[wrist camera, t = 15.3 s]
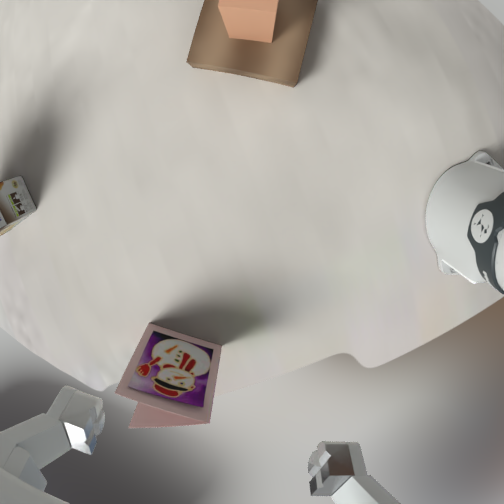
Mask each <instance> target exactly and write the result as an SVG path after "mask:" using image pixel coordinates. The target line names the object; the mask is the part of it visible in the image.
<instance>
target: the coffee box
mask: <svg viewBox="0 0 504 504" xmlns="http://www.w3.org/2000/svg"><path fill="white" fill-rule="evenodd" d="M35 211H36V207H35V205H34V203H33V201H32V198H31V196H30V194H29V192H28V189H27V187H26V185H25V183H24V180H23V178H22V176H18V177H14V178H11V179H8V180H5V181H2V182H0V236H1V235H3V234H5V233H6V232H8V231H10V230H11V229H12V228H14V227H15V226H16V225H17V224H19V223H20V222H21V221H23V220H24V219H25V218H27V217H28V216H29V215H31V214H32V213H33V212H35Z"/></svg>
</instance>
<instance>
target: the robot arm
mask: <svg viewBox="0 0 504 504" xmlns="http://www.w3.org/2000/svg"><path fill="white" fill-rule="evenodd" d="M487 162H488V164H487ZM426 230H427V234H428V237H429V240H430V242H431V244H432V246H433V248H434V249H435V251H436V253H437V258H438V266H439V270H440V271H441V272H442V273H444V274H447V275H462V276H463V277H465V278H466V279H467V280H469V281H470V282H471V283H474V284H476V283H477V282H478V283H485V282H488V284H489V285H491V287H493V288H494V289H495V290H497V291H499V292H501V293H502V294H504V169H503V168H502V167H501V166H500V165H499V164H498V163H497V162H496V161H495V160H494V159H493V158H492V157H490V156H489V155H488V154H487V153H486V152H483V151H478V152H477V153H475V154H474V155H473V156H472V157H471V158H470V159H469V160H468V161H467V162H464V163H461V164H458V165H455V166H453V167H452V168H450V169H449V170H447V171H446V172H445V173H444V174H443V175H442V176H441V177H440V178H439V180H438V181H437V182H436V184H435V186H434V187H433V190H432V192H431V194H430V197H429V200H428V204H427V209H426ZM102 406H103V401H102V399H100V398H98V397H95V396H92V395H89V394H87V393H84V392H82V391H79V390H77V389H74V388H72V387H69V386H67V385H66V386H64V387H63V388H62V390H61V391H60V393H59V394H58V396H57V397H56V399H55V401H54V402H53V404H52V406H51V407H50V409H49V411H48V412H47V414H44V413H42V414H40V415H38V416H36V417H33V418H31V419H29V420H27V421H24V422H22V423H20V424H18V425H15V426H14V427H11V428H9V429H6V430H4V431H1V432H0V504H69V503H67V502H64V501H62V500H60V499H58V498H55V497H54V496H51V495H49V494H47V493H45V492H43V491H44V489H45V486H46V484H47V482H46V479H45V478H44V476H43V475H42V473H41V472H40V470H39V469H41V468H43V467H44V466H46V465H47V464H49V463H50V462H52V461H53V460H55V459H57V458H58V457H59V456H61V455H63V454H64V453H66V452H67V451H68V450H70V449H71V448H74V449H77V450H79V451H82V452H85V453H87V454H90V455H92V452H93V450H94V448H95V445H96V443H97V440H96V436H97V435H98V434H100V433H101V431H102V429H103V425H104V421H105V413H104V411H103V410H102V409H101V408H102ZM317 448H318V450H316V451H314V452H313V453H312V454H311V456H310V458H309V462H308V473H309V474H310V475H311V476H312V477H313V478H312V480H311V481H310V482H309V483H310V492H311V496H331V498H332V499H333V501H334V502H335V503H336V504H401V503H399V502H398V501H397V500H396V499H395V498H394V497H393V496H392V495H391V494H390V493H389V492H388V491H387V490H386V489H384V487H382V486H381V485H380V484H379V483H378V482H377V481H376V480H375V479H374V478H373V477H372V476H371V475H367V471H366V467H365V463H364V459H363V456H362V452H361V448H360V444H359V443H357V442H326V441H322V442H320V443H319V444H318V446H317Z"/></svg>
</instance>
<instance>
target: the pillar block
mask: <svg viewBox="0 0 504 504" xmlns="http://www.w3.org/2000/svg"><path fill="white" fill-rule="evenodd" d="M278 2H279V0H219V3H218V8H219V11H220V13H221V16H222V19H223V22H224V24H225V27H226V30H227V33H228V35H229V38H235V39H245V40H253V41H261V42H268V43H272V38H273V32H274V26H275V20H276V14H277V9H278Z"/></svg>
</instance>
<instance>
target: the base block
mask: <svg viewBox="0 0 504 504" xmlns="http://www.w3.org/2000/svg"><path fill="white" fill-rule="evenodd" d="M317 1H318V0H279V2H278V9H277V14H276V20H275V26H274V32H273V38H272V43H268V42H261V41H253V40H245V39H235V38H229V35H228V33H227V30H226V27H225V24H224V22H223V19H222V16H221V13H220V11H219V8H218V3H219V0H205V1H204V4H203V7H202V10H201V13H200V16H199V20H198V23H197V26H196V30H195V33H194V37H193V40H192V44H191V47H190V51H189V55H188V58H187V63H189V64H190V65H191V66H192V67H193V68H200V69H207V70H213V71H219V72H225V73H231V74H236V75H241V76H246V77H251V78H256V79H261V80H265V81H270V82H274V83H278V84H282V85H286V86H290V87H294V86H295V85H296V84H297V81H298V77H299V73H300V69H301V65H302V61H303V57H304V53H305V49H306V45H307V41H308V37H309V33H310V29H311V25H312V21H313V17H314V13H315V9H316V5H317Z"/></svg>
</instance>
